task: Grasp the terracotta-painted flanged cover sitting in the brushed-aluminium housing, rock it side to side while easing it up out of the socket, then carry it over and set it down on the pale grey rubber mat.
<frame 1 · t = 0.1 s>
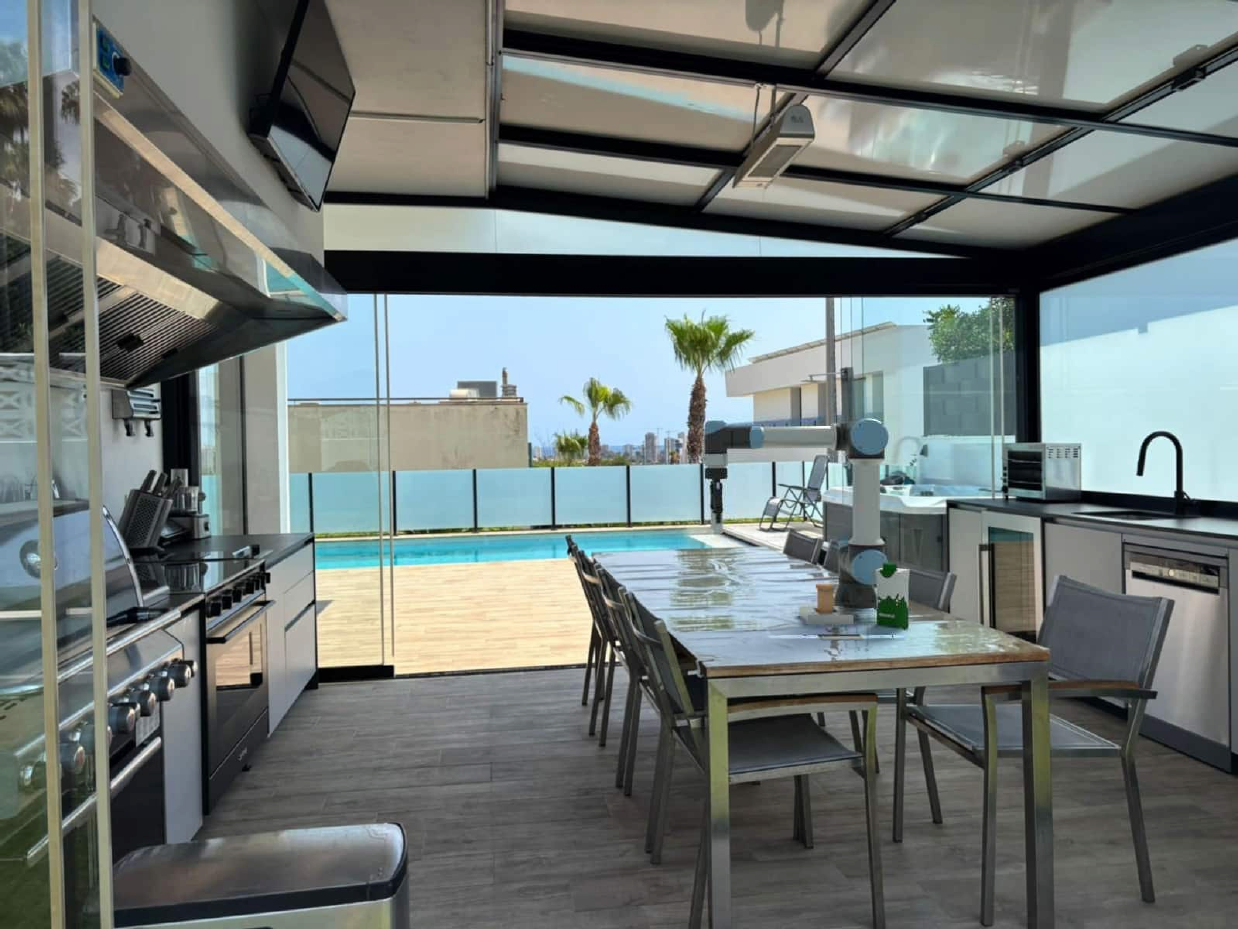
hand: (716, 531, 276), 28 cm above the table, fingers open, 13 cm apart
milk carton: (892, 628, 256), on the table
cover: (825, 619, 263), point 1 cm above the table, touching housing
mat: (838, 635, 246), on the table
housing: (825, 623, 263), on the table
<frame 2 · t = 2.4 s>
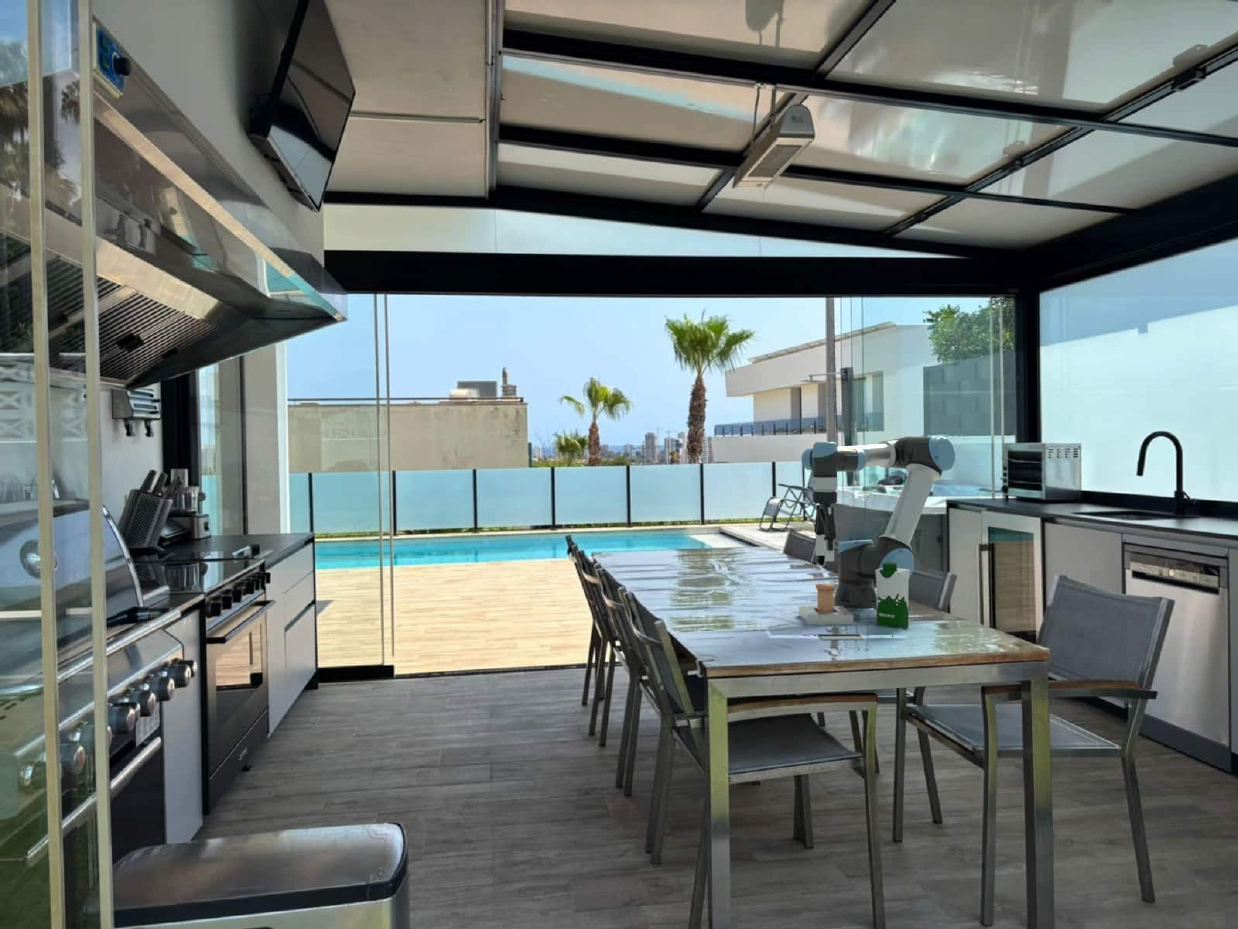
hand: (824, 558, 263), 21 cm above the table, fingers open, 13 cm apart
nothing on the table moved.
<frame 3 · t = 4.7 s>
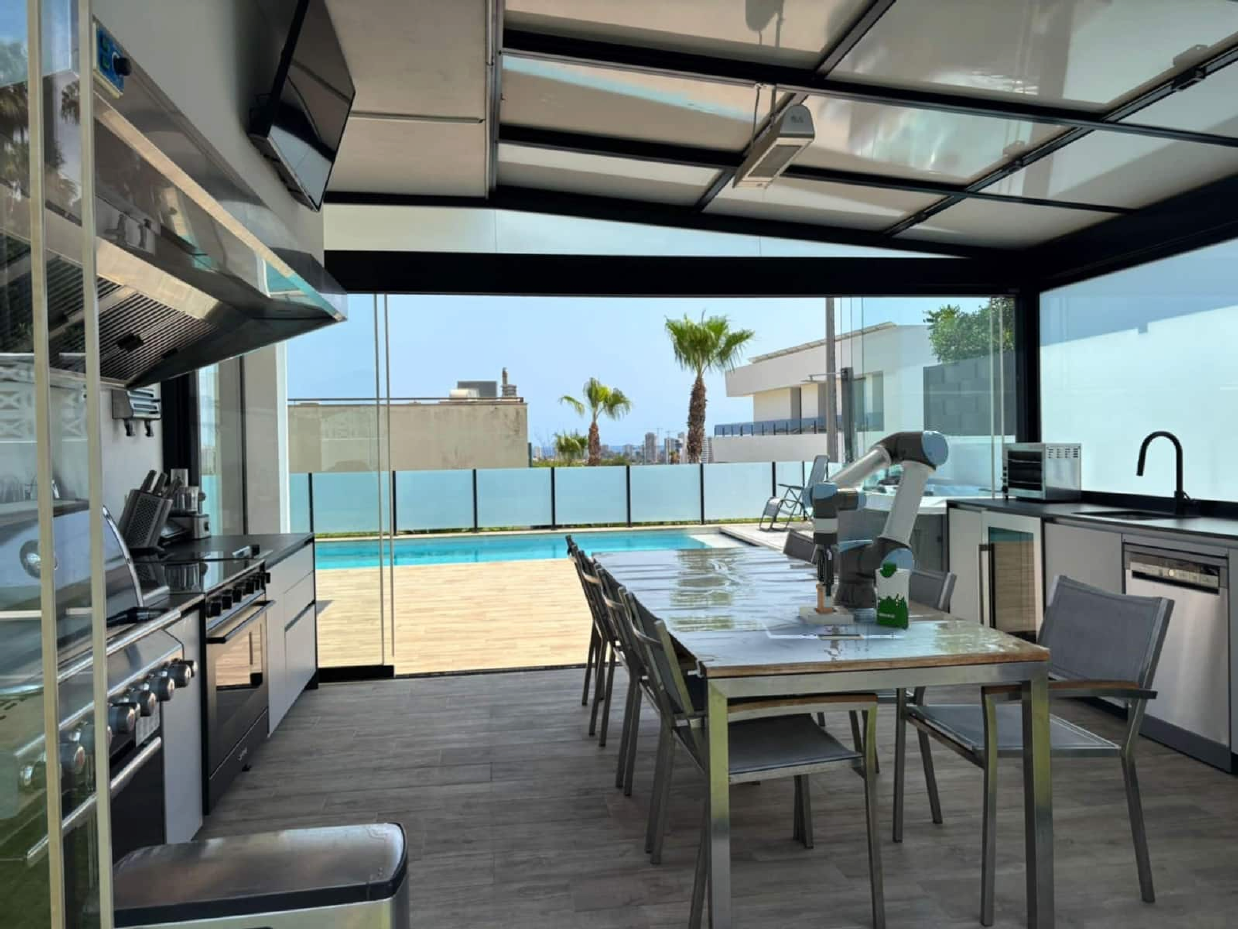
hand: (825, 604, 263), 6 cm above the table, fingers closed on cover, 6 cm apart
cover: (825, 619, 263), point 1 cm above the table, touching gripper, housing
everything else where it was.
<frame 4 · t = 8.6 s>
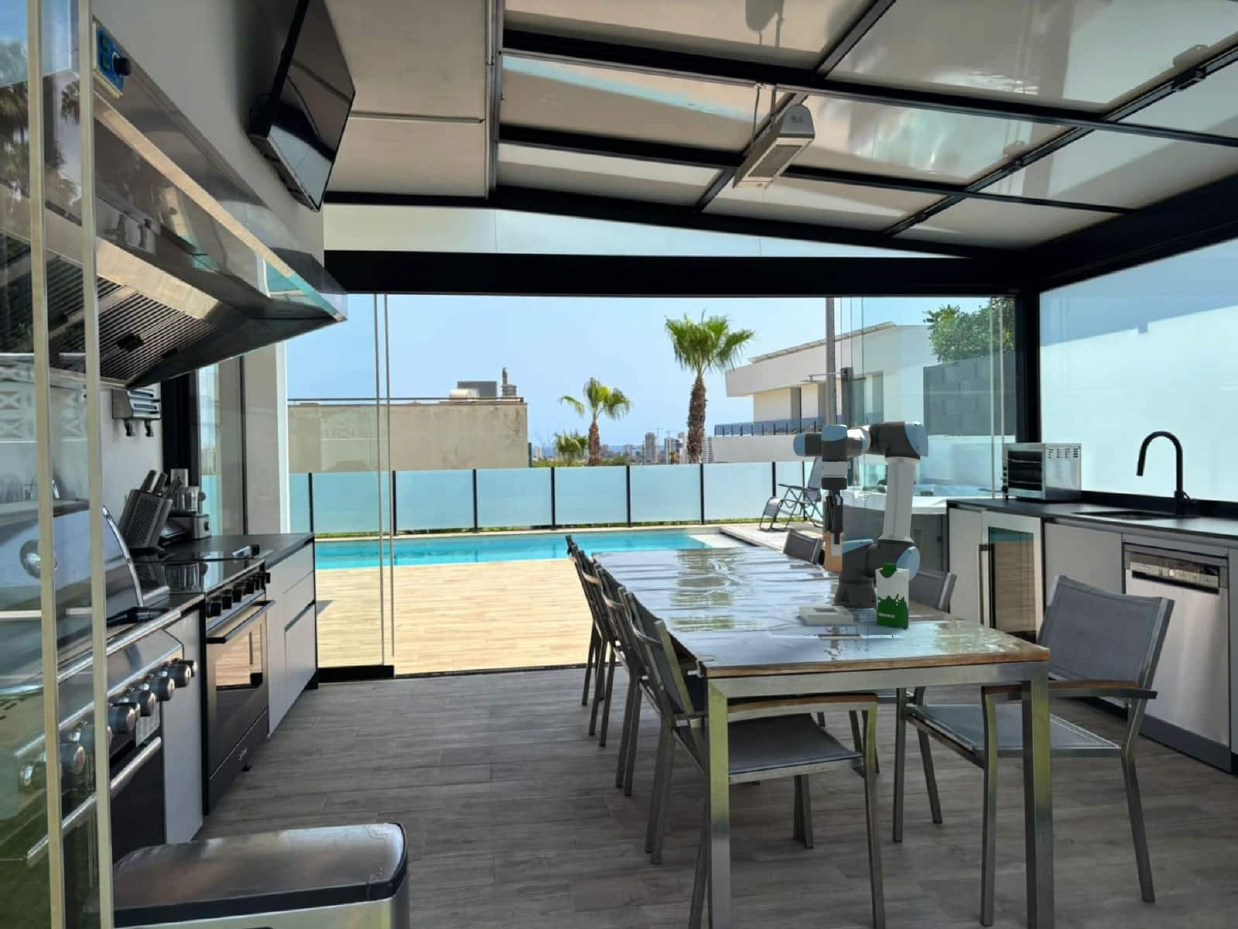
hand: (833, 554, 248), 24 cm above the table, fingers closed on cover, 6 cm apart
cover: (833, 570, 248), point 19 cm above the table, touching gripper
everything else where it was.
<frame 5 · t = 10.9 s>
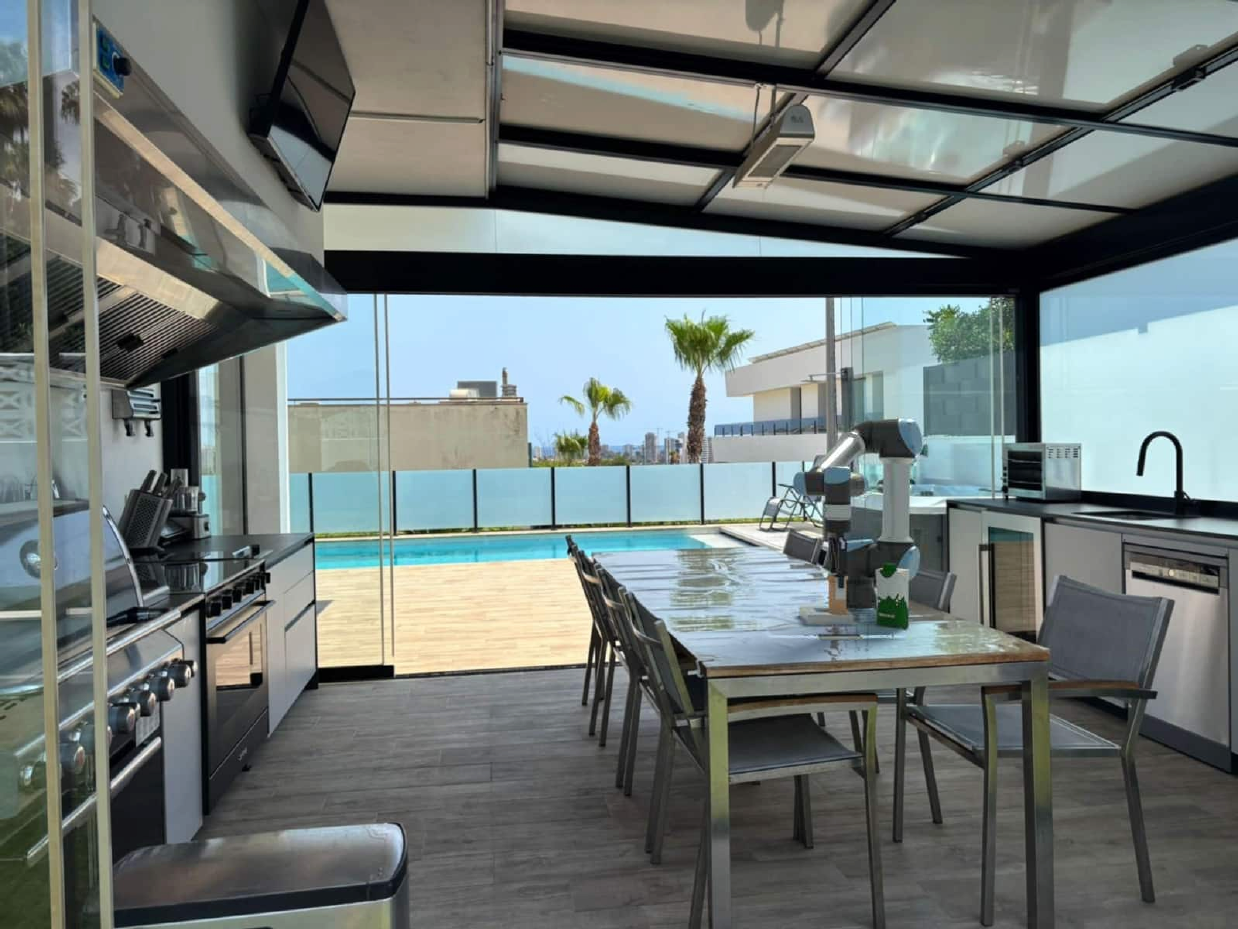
hand: (837, 596, 246), 11 cm above the table, fingers closed on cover, 6 cm apart
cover: (837, 613, 246), point 7 cm above the table, touching gripper
everything else where it was.
when the fingers open (7 cm above the table, at t = 12.6 s): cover drops 2 cm, resting on mat.
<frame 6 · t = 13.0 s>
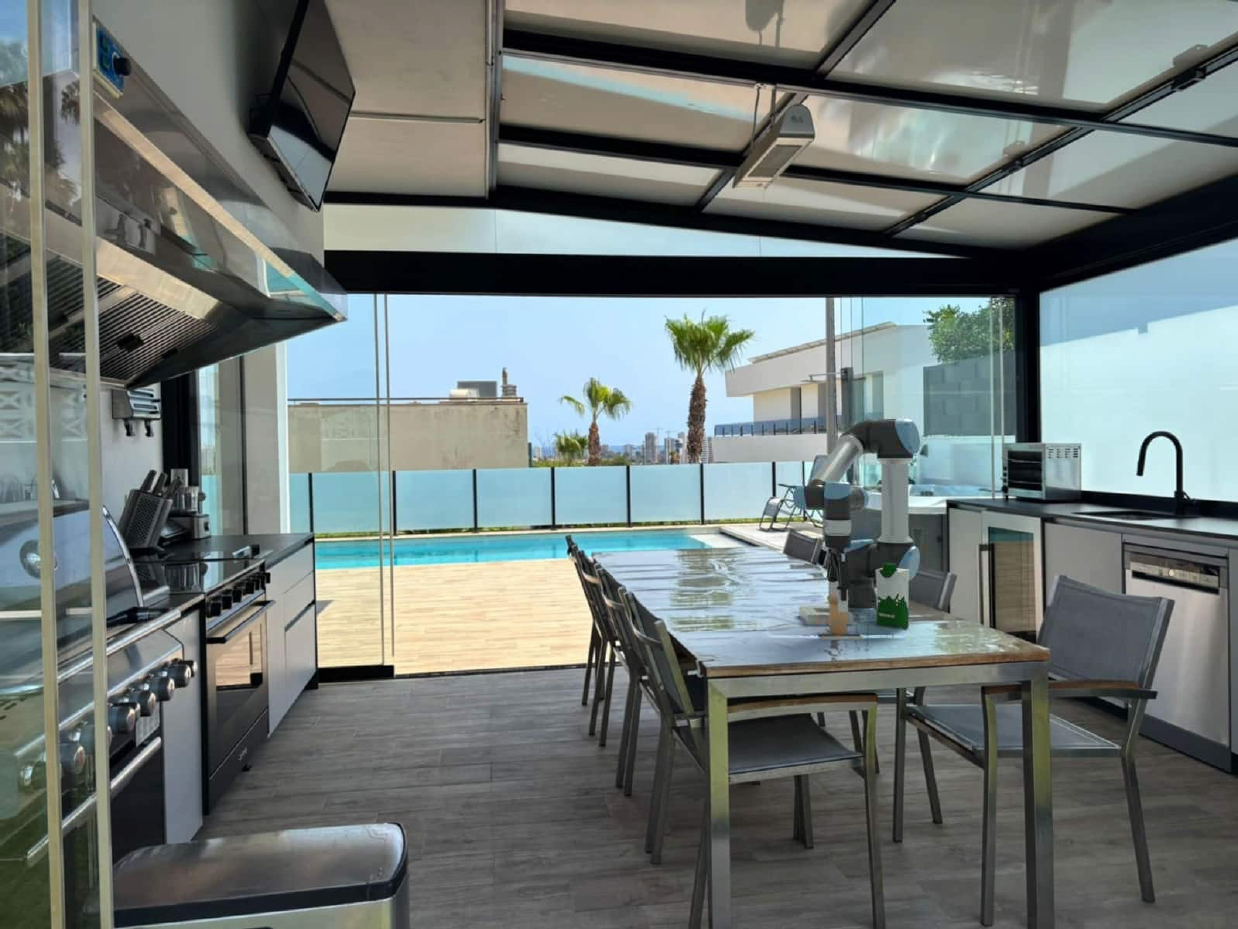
hand: (838, 607, 246), 8 cm above the table, fingers open, 11 cm apart
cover: (838, 634, 246), resting on mat
everything else where it was.
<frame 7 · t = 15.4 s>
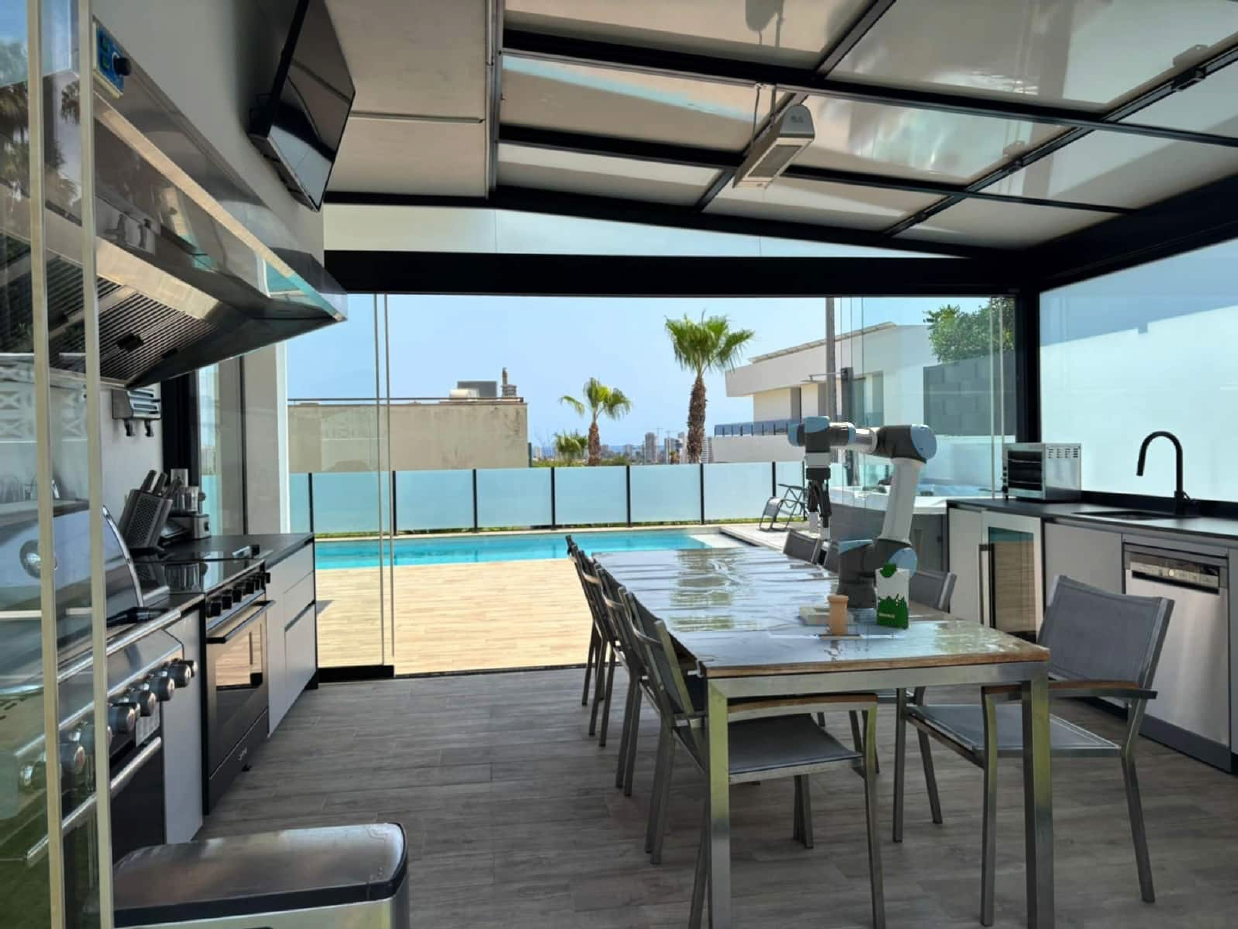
hand: (819, 536, 256), 28 cm above the table, fingers open, 13 cm apart
nothing on the table moved.
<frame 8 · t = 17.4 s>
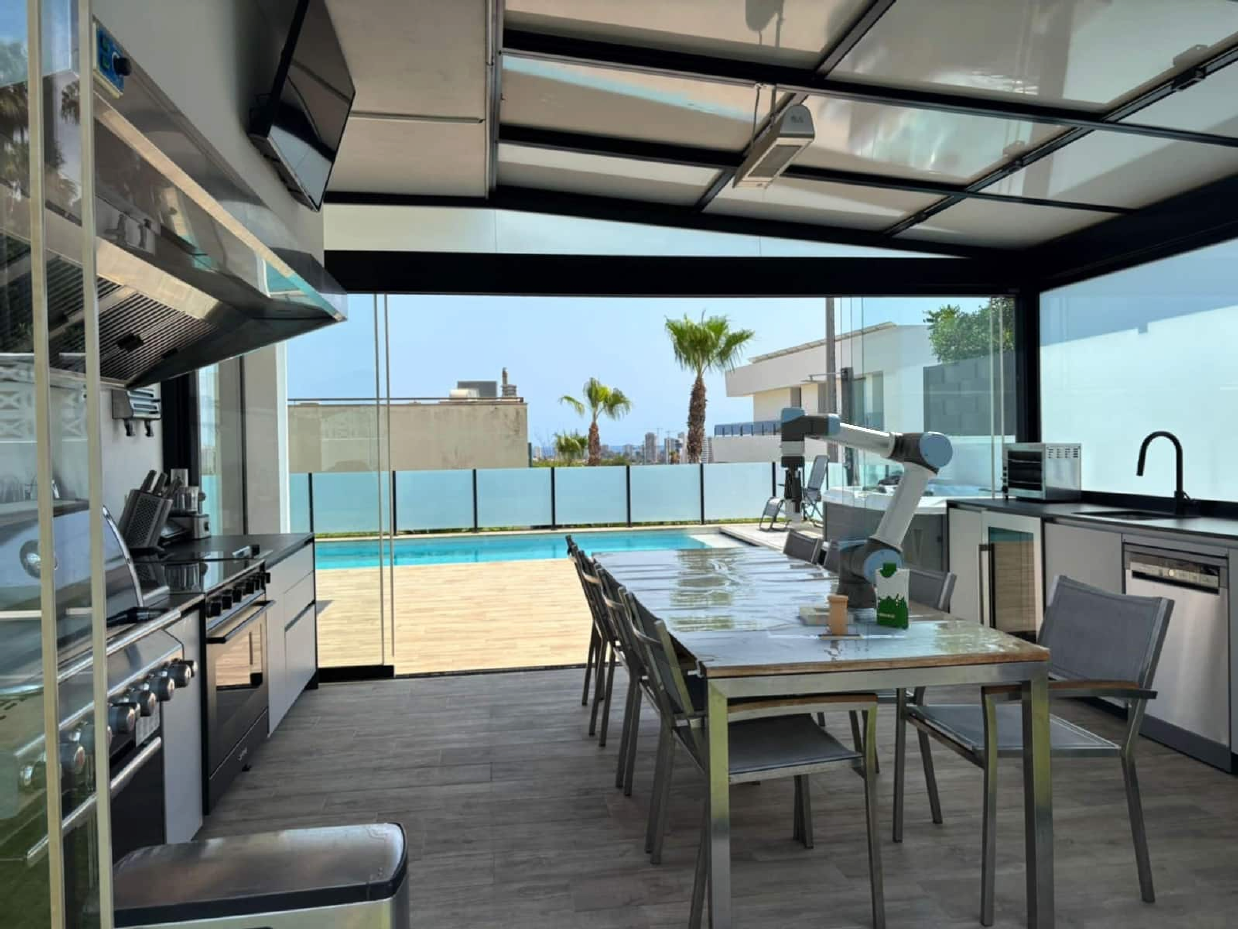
hand: (793, 521, 269), 32 cm above the table, fingers open, 13 cm apart
nothing on the table moved.
at the end: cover inside the target area on the mat (0.2 cm from its centre), point 0.4 cm above the mat's base; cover tilted 1°; the gripper is holding nothing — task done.
